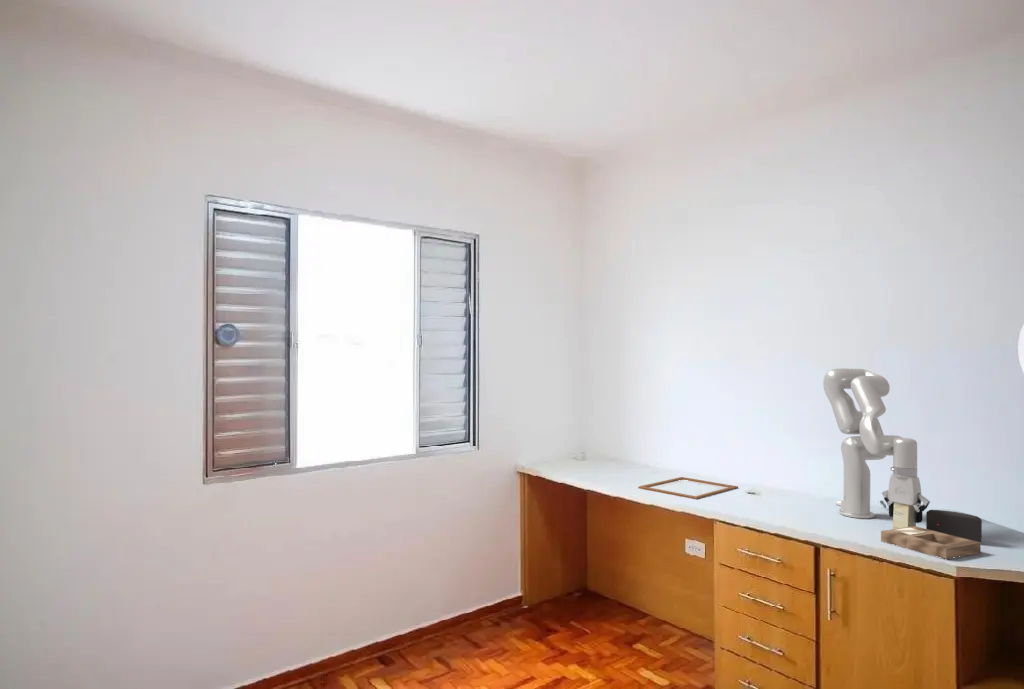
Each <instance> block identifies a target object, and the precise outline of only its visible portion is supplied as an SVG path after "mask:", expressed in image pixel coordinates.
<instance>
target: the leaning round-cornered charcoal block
mask: <svg viewBox="0 0 1024 689" xmlns="http://www.w3.org/2000/svg"><path fill="white" fill-rule="evenodd" d="M925 515H926V516H925V520H926V521H925V522H926V523H925V526H926V528H925V529H928V530H932V531H936V532H940V533H944V534H948V535H952V536H956V537H960V538H964V539H968V540H972V541H976V542H980V543H982V540H983V539H982V535H983V530H982V529H983V527H982V525H983V524H982V523H983V521H982V518H981V517H979V516H976V515H974V514H969V513H963V512H958V511H951V510H944V509H943V510H942V509H941V510H940V509H929V510H927V511H926V514H925Z"/></svg>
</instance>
